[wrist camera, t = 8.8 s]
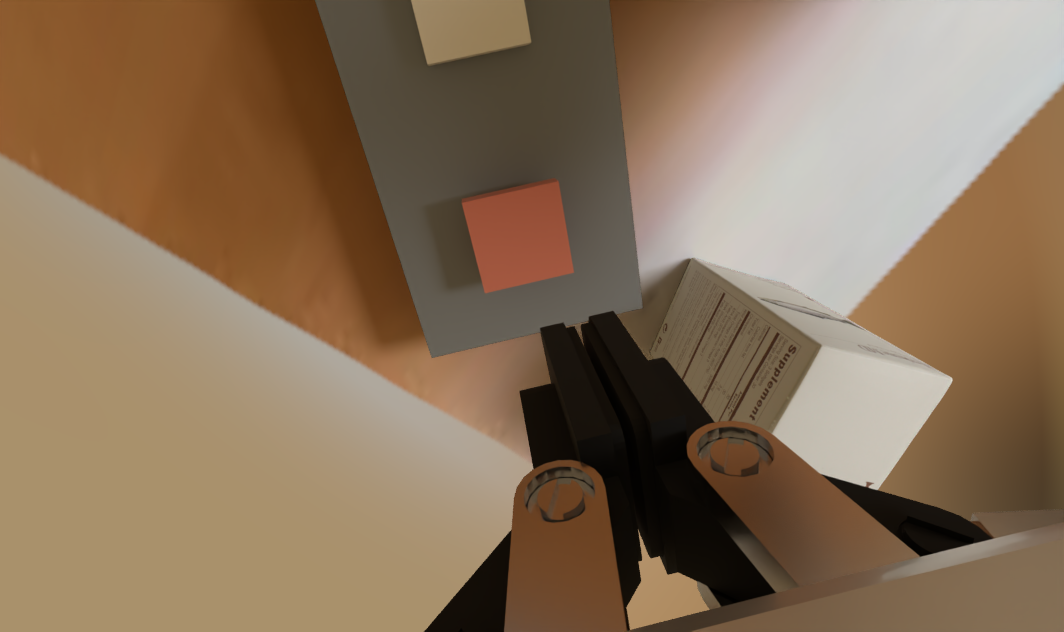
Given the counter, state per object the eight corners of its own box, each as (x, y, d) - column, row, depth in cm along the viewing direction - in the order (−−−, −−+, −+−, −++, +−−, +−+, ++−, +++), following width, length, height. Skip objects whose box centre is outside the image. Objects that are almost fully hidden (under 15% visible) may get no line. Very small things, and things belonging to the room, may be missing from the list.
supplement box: (786, 281, 32) (963, 379, 21) (736, 375, 35) (870, 509, 24) (689, 251, 31) (825, 342, 19) (644, 353, 33) (740, 486, 22)
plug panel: (564, -171, 22) (584, -225, 18) (621, 283, 31) (642, 308, 27) (296, -118, 21) (261, -163, 18) (435, 327, 30) (431, 357, 27)
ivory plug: (501, -58, 22) (508, -89, 18) (520, 51, 24) (531, 42, 20) (405, -38, 22) (393, -66, 18) (432, 70, 24) (427, 64, 20)
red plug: (544, 169, 25) (558, 181, 22) (559, 249, 27) (574, 272, 24) (461, 188, 25) (461, 202, 22) (481, 267, 27) (484, 293, 23)
